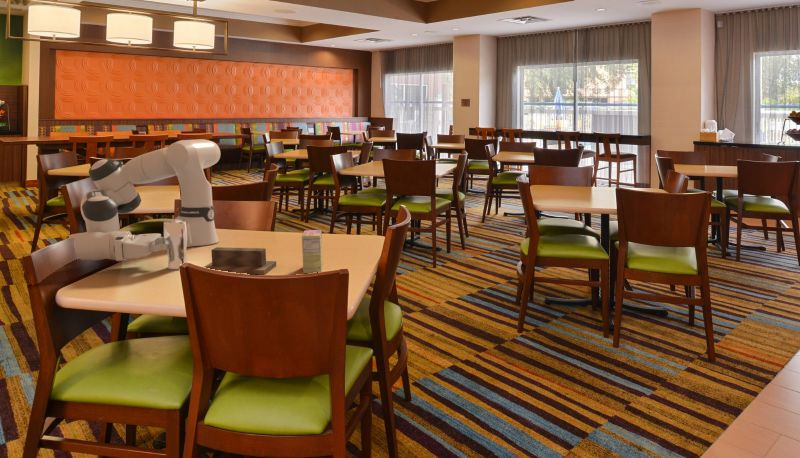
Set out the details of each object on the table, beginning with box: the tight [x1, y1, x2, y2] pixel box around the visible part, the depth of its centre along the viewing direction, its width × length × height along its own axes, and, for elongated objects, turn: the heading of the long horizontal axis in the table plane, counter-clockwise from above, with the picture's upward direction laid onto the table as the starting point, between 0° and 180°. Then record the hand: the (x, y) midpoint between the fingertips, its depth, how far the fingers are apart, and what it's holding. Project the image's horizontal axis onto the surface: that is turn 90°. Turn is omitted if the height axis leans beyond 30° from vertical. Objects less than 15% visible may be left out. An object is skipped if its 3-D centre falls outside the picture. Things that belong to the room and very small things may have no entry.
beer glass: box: [163, 219, 188, 271], centre depth 194 cm, size 7×7×15 cm
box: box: [301, 229, 324, 274], centre depth 192 cm, size 10×6×12 cm, turn 5°
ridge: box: [203, 246, 277, 276], centre depth 192 cm, size 20×12×6 cm, turn 84°
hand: (170, 243), depth 193 cm, fingers open, 8 cm apart
